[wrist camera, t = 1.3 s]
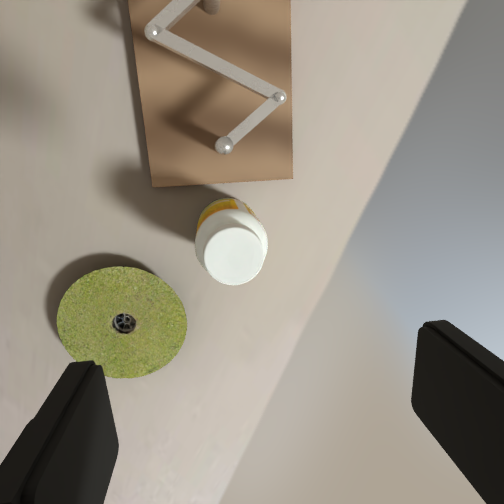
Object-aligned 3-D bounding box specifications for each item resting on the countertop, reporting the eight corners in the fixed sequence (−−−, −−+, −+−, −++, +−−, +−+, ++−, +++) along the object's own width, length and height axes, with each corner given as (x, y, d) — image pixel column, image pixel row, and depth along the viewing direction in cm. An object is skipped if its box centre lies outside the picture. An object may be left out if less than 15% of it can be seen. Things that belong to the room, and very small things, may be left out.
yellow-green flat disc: (197, 355, 35) (196, 366, 33) (84, 376, 34) (77, 389, 32) (175, 250, 31) (173, 256, 30) (48, 271, 30) (38, 279, 29)
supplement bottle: (264, 209, 31) (288, 234, 22) (242, 261, 33) (257, 305, 23) (209, 187, 30) (210, 204, 21) (188, 242, 31) (181, 280, 22)
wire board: (290, 177, 31) (292, 178, 30) (154, 186, 30) (152, 187, 29) (285, -119, 25) (288, -129, 24) (113, -125, 23) (109, -136, 22)
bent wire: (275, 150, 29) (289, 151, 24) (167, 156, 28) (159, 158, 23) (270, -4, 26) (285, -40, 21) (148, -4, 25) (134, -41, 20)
